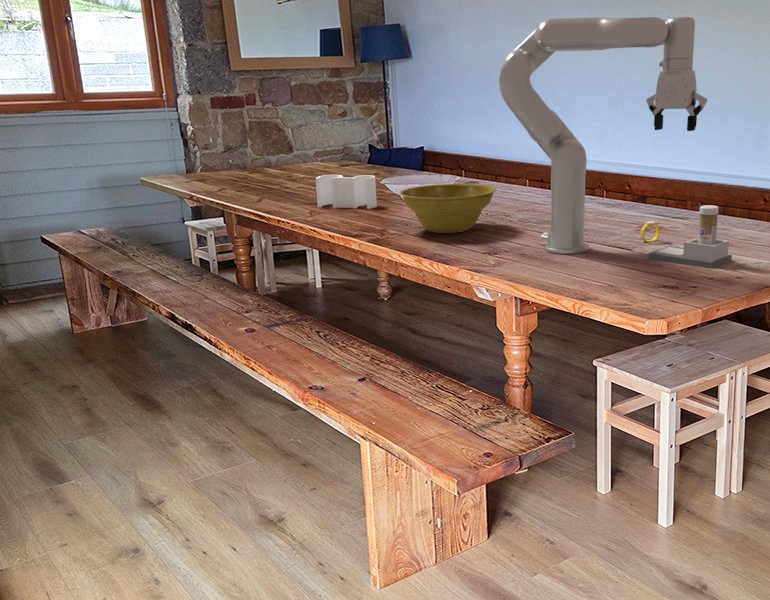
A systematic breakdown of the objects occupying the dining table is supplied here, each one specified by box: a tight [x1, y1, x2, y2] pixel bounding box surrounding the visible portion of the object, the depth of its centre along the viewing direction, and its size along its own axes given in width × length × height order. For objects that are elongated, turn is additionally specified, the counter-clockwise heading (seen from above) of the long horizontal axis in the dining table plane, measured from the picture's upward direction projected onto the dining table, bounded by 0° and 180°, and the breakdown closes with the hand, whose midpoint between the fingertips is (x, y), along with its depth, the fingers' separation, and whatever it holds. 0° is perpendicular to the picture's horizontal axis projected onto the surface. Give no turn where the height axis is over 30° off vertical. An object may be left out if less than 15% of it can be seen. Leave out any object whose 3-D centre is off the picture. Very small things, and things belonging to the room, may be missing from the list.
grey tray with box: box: [647, 237, 733, 269], centre depth 219 cm, size 18×11×6 cm, turn 42°
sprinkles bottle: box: [697, 204, 719, 245], centre depth 214 cm, size 5×5×14 cm
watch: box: [639, 220, 661, 243], centre depth 242 cm, size 6×3×6 cm, turn 110°
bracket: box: [315, 174, 378, 210], centre depth 328 cm, size 25×10×12 cm, turn 65°
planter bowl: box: [398, 183, 497, 234], centre depth 272 cm, size 32×32×13 cm
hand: (674, 130), depth 224 cm, fingers open, 9 cm apart
